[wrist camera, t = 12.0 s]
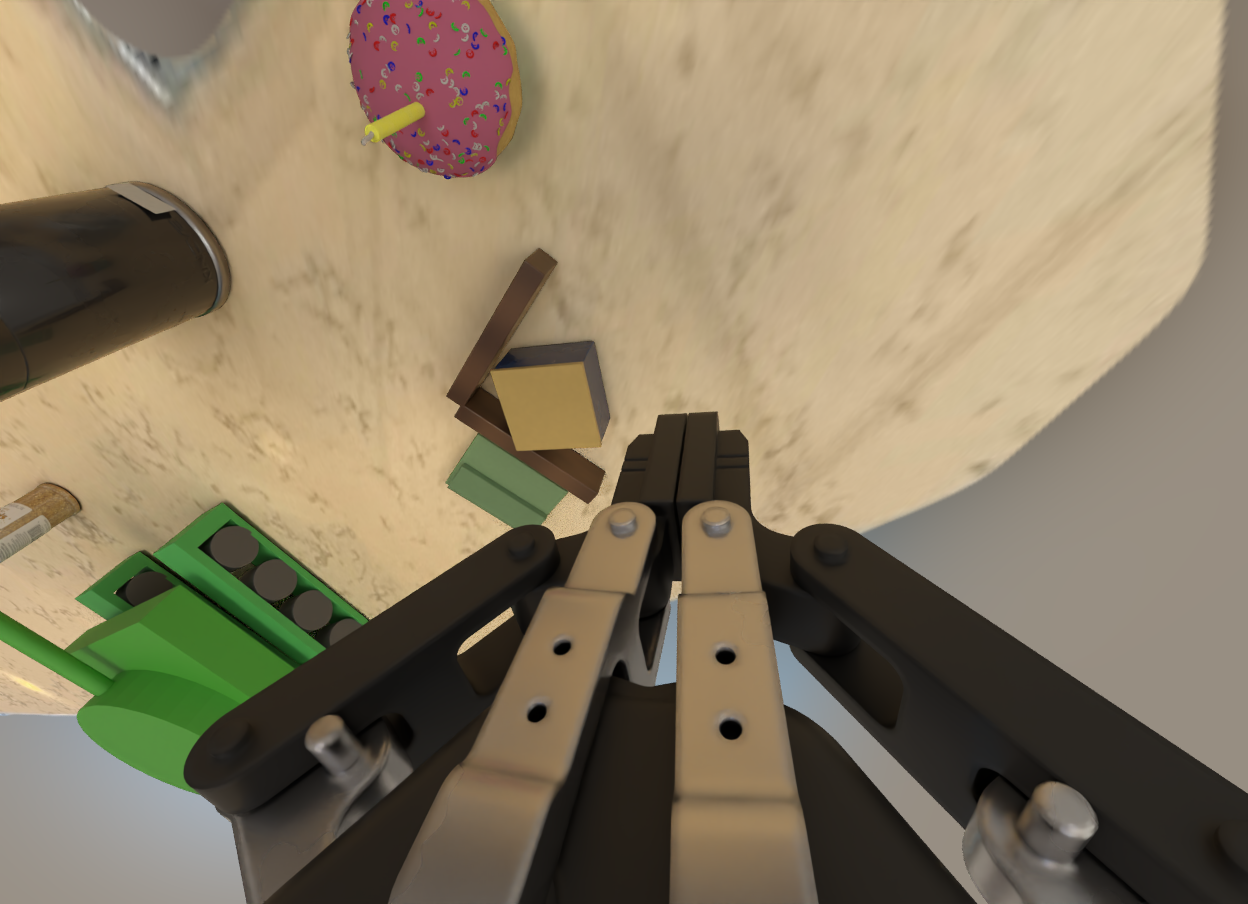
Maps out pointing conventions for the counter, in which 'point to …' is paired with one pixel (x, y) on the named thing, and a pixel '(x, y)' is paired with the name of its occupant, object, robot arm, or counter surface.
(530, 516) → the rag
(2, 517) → the sprinkles bottle
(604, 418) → the tea tin
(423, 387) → the counter surface
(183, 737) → the tank
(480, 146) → the cupcake
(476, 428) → the corner guide
